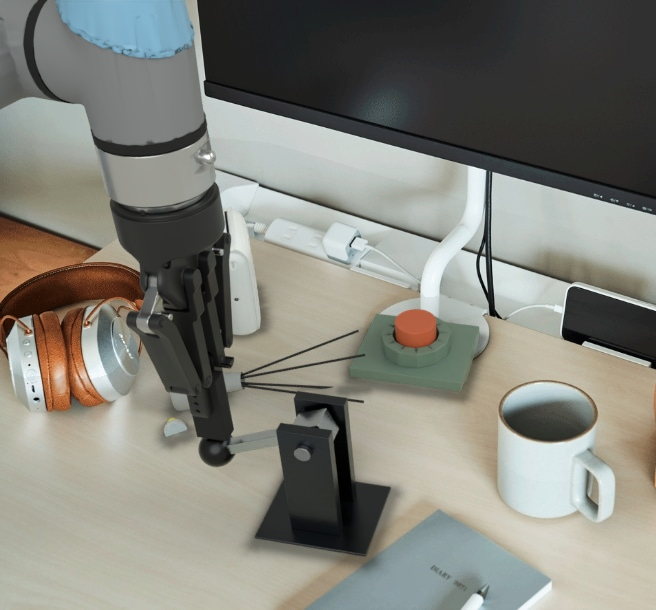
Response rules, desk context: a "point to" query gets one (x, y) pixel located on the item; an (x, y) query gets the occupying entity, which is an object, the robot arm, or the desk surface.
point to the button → (415, 328)
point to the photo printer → (241, 276)
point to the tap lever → (259, 439)
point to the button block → (417, 356)
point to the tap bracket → (322, 486)
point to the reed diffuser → (250, 385)
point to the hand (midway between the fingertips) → (215, 433)
